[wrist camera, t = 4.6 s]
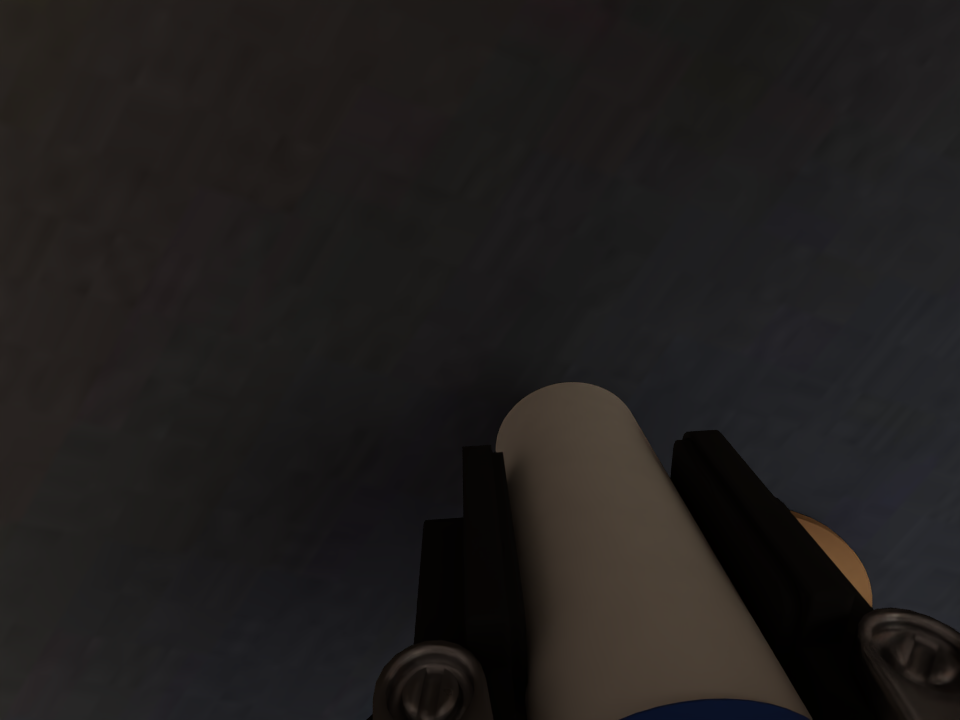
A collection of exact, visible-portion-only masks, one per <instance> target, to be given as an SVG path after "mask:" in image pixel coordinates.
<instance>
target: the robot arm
mask: <svg viewBox="0 0 960 720" xmlns="http://www.w3.org/2000/svg"><path fill="white" fill-rule="evenodd" d="M670 479H671V481H672V482H673V484H674V486H675V488H676V489H677V491H678V493H679V494H680V496H681V498H682V499H683V501H684V503H685V504H686V506H687V508H688V509H689V511H690V513H691V515H692V516H693V518H694V520H695V521H696V523H697V525H698V526H699V528H700V530H701V531H702V533H703V535H704V537H705V538H706V540H707V542H708V543H709V545H710V547H711V548H712V550H713V552H714V553H715V555H716V557H717V558H718V560H719V562H720V564H721V565H722V567H723V569H724V570H725V572H726V574H727V575H728V577H729V579H730V580H731V582H732V584H733V585H734V587H735V589H736V591H737V592H738V594H739V596H740V597H741V599H742V601H743V602H744V604H745V606H746V607H747V609H748V611H749V613H750V614H751V616H752V618H753V619H754V621H755V623H756V624H757V626H758V628H759V629H760V631H761V633H762V634H763V636H764V638H765V640H766V641H767V643H768V645H769V646H770V648H771V650H772V651H773V653H774V655H775V656H776V658H777V660H778V661H779V663H780V665H781V667H782V668H783V670H784V672H785V673H786V675H787V677H788V678H789V680H790V682H791V683H792V685H793V687H794V689H795V690H796V692H797V694H798V695H799V697H800V699H801V700H802V702H803V704H804V705H805V707H806V709H807V710H808V712H809V714H810V716H811V717H812V719H813V720H960V633H959V632H957V631H956V630H955V629H953V628H952V627H950V626H948V625H946V624H944V623H942V622H940V621H938V620H936V619H934V618H932V617H930V616H927V615H924V614H920V613H917V612H914V611H911V610H906V609H898V608H882V609H875V610H873V608H872V607H871V606H870V605H869V604H868V602H867V601H866V600H865V599H864V598H863V597H862V595H861V594H860V593H859V592H858V591H857V589H856V588H855V587H854V586H853V585H852V584H851V582H850V581H849V580H848V579H847V578H846V576H845V575H844V574H843V573H842V572H841V571H840V569H839V568H838V567H837V566H836V565H835V563H834V562H833V561H832V560H831V559H830V558H829V556H828V555H827V554H826V553H825V552H824V550H823V549H822V548H821V547H820V546H819V545H818V543H817V542H816V541H815V540H814V539H813V537H812V536H811V535H810V534H809V533H808V532H807V530H806V529H805V528H804V527H803V526H802V524H801V523H800V522H799V521H798V520H797V519H796V517H795V516H794V515H793V514H792V513H791V512H790V510H789V509H788V508H787V507H786V506H785V504H784V503H782V502H781V501H780V500H779V499H778V498H775V497H774V496H773V495H772V493H771V492H770V491H769V490H768V489H767V487H766V486H765V485H764V484H763V483H762V482H761V480H760V479H759V478H758V477H757V476H756V474H755V473H754V472H753V471H752V470H751V468H750V467H749V466H748V465H747V464H746V462H745V461H744V460H743V459H742V458H741V456H740V455H739V454H738V453H737V452H736V450H735V449H734V448H733V447H732V446H731V444H730V443H729V442H728V441H727V440H726V438H725V437H724V436H723V435H722V434H721V433H720V432H719V431H718V430H707V431H692V432H686V433H685V434H684V436H683V440H677V441H675V443H674V448H673V458H672V468H671V478H670ZM463 507H464V518H451V519H436V520H425V522H424V528H423V539H422V551H421V564H420V576H419V588H418V600H417V613H416V625H415V637H414V645H411V646H409V647H407V648H406V649H404V650H403V651H401V652H399V653H398V654H396V655H395V656H394V657H393V658H392V659H391V660H390V661H389V662H388V663H387V665H386V666H385V667H384V668H383V670H382V672H381V674H380V676H379V678H378V680H377V681H376V685H375V691H374V696H373V714H372V715H371V716H370V717H369V718H368V719H367V720H527V715H526V707H525V693H526V687H527V683H528V679H527V646H526V623H525V611H524V602H523V594H522V587H521V580H520V572H519V565H518V558H517V551H516V543H515V536H514V529H513V522H512V514H511V507H510V500H509V493H508V485H507V478H506V471H505V464H504V456H503V452H494V453H492V450H491V445H484V446H469V447H463Z"/></svg>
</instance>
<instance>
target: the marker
mask: <svg viewBox="0 0 960 720" xmlns="http://www.w3.org/2000/svg"><path fill="white" fill-rule="evenodd" d="M496 452H503V456H504V464H505V471H506V478H507V485H508V493H509V500H510V507H511V514H512V522H513V529H514V536H515V543H516V551H517V558H518V565H519V572H520V580H521V587H522V594H523V602H524V611H525V623H526V646H527V679H528V683H527V687H526V693H525V707H526V715H527V720H813V719H812V717H811V716H810V714H809V712H808V710H807V709H806V707H805V705H804V704H803V702H802V700H801V699H800V697H799V695H798V694H797V692H796V690H795V689H794V687H793V685H792V683H791V682H790V680H789V678H788V677H787V675H786V673H785V672H784V670H783V668H782V667H781V665H780V663H779V661H778V660H777V658H776V656H775V655H774V653H773V651H772V650H771V648H770V646H769V645H768V643H767V641H766V640H765V638H764V636H763V634H762V633H761V631H760V629H759V628H758V626H757V624H756V623H755V621H754V619H753V618H752V616H751V614H750V613H749V611H748V609H747V607H746V606H745V604H744V602H743V601H742V599H741V597H740V596H739V594H738V592H737V591H736V589H735V587H734V585H733V584H732V582H731V580H730V579H729V577H728V575H727V574H726V572H725V570H724V569H723V567H722V565H721V564H720V562H719V560H718V558H717V557H716V555H715V553H714V552H713V550H712V548H711V547H710V545H709V543H708V542H707V540H706V538H705V537H704V535H703V533H702V531H701V530H700V528H699V526H698V525H697V523H696V521H695V520H694V518H693V516H692V515H691V513H690V511H689V509H688V508H687V506H686V504H685V503H684V501H683V499H682V498H681V496H680V494H679V493H678V491H677V489H676V488H675V486H674V484H673V482H672V481H671V479H670V477H669V476H668V474H667V472H666V471H665V469H664V467H663V466H662V464H661V462H660V461H659V459H658V457H657V455H656V454H655V452H654V450H653V449H652V447H651V445H650V444H649V442H648V440H647V439H646V437H645V435H644V433H643V432H642V430H641V428H640V427H639V425H638V423H637V422H636V420H635V418H634V417H633V415H632V413H631V412H630V410H629V409H628V407H627V406H626V405H625V404H624V403H623V402H622V401H621V400H620V399H619V398H618V397H617V396H615V395H614V394H613V393H611V392H609V391H607V390H606V389H603V388H601V387H598V386H595V385H591V384H587V383H579V382H565V383H557V384H553V385H549V386H546V387H544V388H541V389H538V390H536V391H534V392H533V393H531V394H529V395H528V396H526V397H525V398H523V399H522V400H521V401H520V402H518V403H517V404H516V405H515V406H514V407H513V408H512V409H511V411H510V412H509V413H508V414H507V416H506V417H505V419H504V421H503V423H502V425H501V427H500V429H499V432H498V435H497V440H496Z"/></svg>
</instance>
